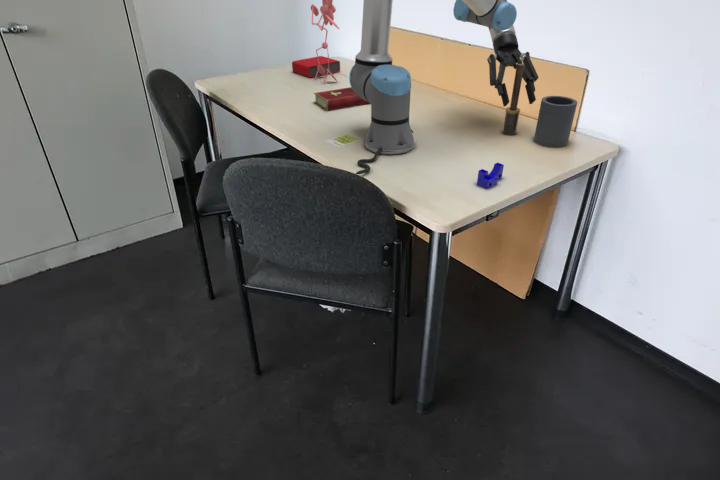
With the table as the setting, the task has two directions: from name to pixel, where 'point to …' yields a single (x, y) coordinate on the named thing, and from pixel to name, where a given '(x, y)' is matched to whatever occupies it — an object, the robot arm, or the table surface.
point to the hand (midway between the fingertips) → (519, 103)
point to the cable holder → (490, 176)
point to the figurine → (328, 16)
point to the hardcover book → (338, 99)
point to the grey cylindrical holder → (555, 121)
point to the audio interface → (315, 66)
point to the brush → (514, 104)
